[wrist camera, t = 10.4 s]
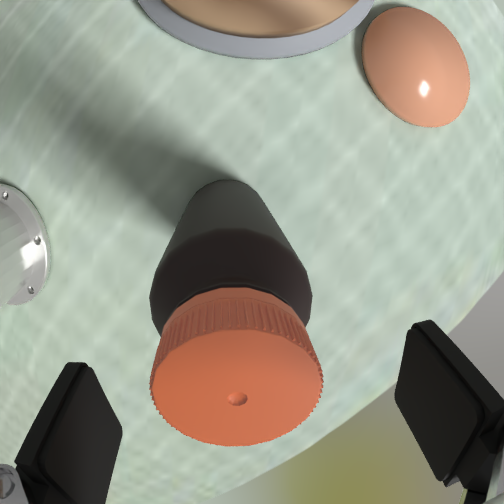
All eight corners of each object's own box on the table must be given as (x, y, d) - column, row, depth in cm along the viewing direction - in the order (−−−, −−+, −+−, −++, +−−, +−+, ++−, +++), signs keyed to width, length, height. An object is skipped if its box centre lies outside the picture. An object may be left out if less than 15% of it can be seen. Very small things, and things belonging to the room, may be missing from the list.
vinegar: (179, 186, 26) (79, 310, 7) (261, 173, 26) (360, 268, 7) (193, 263, 28) (159, 467, 9) (271, 251, 28) (348, 442, 10)
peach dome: (369, 125, 25) (374, 125, 24) (352, 1, 21) (356, -2, 20) (468, 130, 26) (474, 130, 25) (454, 22, 22) (459, 20, 21)
